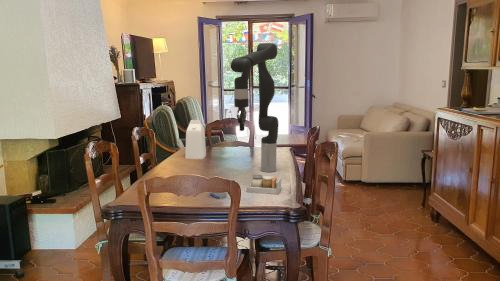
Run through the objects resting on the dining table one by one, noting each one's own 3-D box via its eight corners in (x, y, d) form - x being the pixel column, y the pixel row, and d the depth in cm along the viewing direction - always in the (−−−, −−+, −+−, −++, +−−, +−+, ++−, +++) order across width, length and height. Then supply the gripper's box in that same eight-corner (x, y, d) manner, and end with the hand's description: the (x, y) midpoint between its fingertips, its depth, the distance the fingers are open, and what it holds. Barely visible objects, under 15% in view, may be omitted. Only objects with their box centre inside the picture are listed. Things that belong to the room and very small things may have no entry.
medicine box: (209, 195, 193) (209, 178, 192) (216, 193, 196) (216, 176, 195) (219, 198, 188) (219, 181, 186) (226, 196, 191) (226, 179, 189)
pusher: (274, 187, 205) (274, 176, 204) (276, 187, 205) (276, 176, 204) (271, 192, 197) (272, 180, 196) (273, 192, 197) (274, 180, 196)
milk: (206, 155, 283) (205, 119, 278) (202, 159, 272) (202, 121, 267) (189, 155, 284) (188, 118, 280) (185, 158, 273) (184, 120, 268)
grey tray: (251, 185, 209) (251, 174, 208) (281, 188, 206) (281, 176, 205) (246, 192, 199) (246, 180, 198) (277, 194, 195) (278, 182, 194)
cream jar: (253, 187, 206) (253, 174, 205) (263, 188, 205) (263, 174, 204) (251, 190, 201) (251, 177, 200) (261, 191, 200) (261, 177, 199)
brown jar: (262, 188, 205) (262, 175, 203) (272, 188, 204) (272, 175, 203) (261, 191, 200) (262, 178, 198) (272, 191, 199) (272, 178, 198)
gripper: (237, 96, 213) (237, 128, 216) (231, 98, 200) (232, 132, 203) (251, 96, 211) (251, 128, 215) (245, 98, 199) (246, 133, 202)
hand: (241, 130), depth 209 cm, fingers closed
